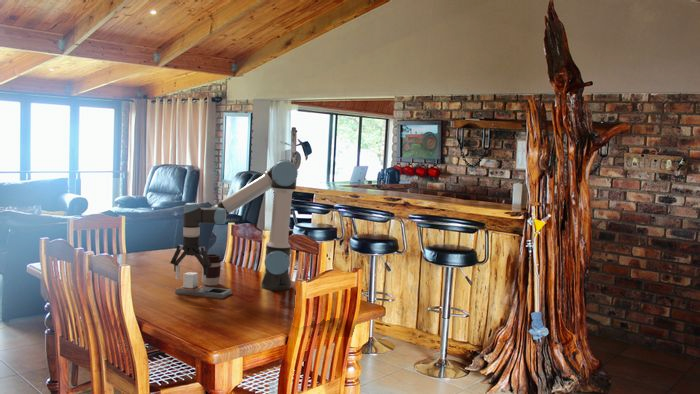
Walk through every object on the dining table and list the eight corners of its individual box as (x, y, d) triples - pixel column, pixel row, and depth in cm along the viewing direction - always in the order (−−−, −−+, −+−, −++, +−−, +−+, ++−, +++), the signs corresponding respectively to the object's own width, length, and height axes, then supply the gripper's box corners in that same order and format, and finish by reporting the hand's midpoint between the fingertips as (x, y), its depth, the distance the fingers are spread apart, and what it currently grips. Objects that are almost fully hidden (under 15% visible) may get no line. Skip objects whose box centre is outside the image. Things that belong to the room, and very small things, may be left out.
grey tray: (231, 294, 279) (231, 288, 279) (222, 299, 269) (222, 293, 269) (186, 289, 285) (186, 284, 285) (175, 294, 275) (175, 288, 275)
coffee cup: (216, 287, 291) (217, 257, 290) (197, 286, 293) (198, 256, 292) (224, 283, 301) (225, 254, 300) (206, 281, 303) (207, 252, 302)
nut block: (197, 291, 281) (198, 272, 280) (192, 293, 276) (192, 275, 275) (188, 290, 282) (188, 271, 281) (182, 292, 277) (183, 274, 276)
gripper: (219, 236, 277) (218, 281, 279) (172, 232, 283) (171, 276, 285) (211, 239, 270) (210, 284, 272) (163, 234, 276) (162, 279, 278)
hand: (190, 280), depth 278 cm, fingers open, 13 cm apart
